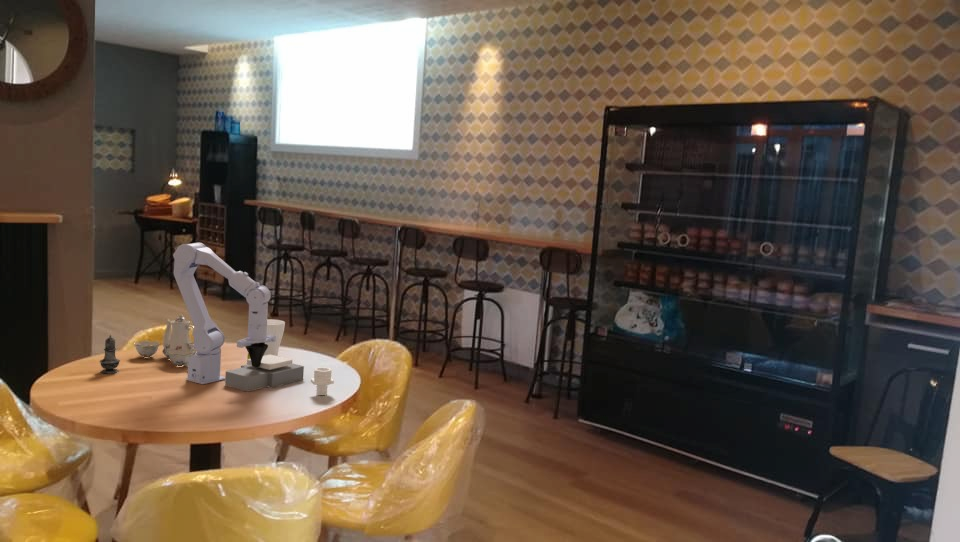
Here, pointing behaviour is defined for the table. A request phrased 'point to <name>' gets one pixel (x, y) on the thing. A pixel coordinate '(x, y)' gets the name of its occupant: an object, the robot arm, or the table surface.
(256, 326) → the robot arm
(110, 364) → the salt shaker
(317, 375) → the pipe fitting
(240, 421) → the table surface
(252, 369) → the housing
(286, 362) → the cream square tile
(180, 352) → the chinaware
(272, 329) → the cup
